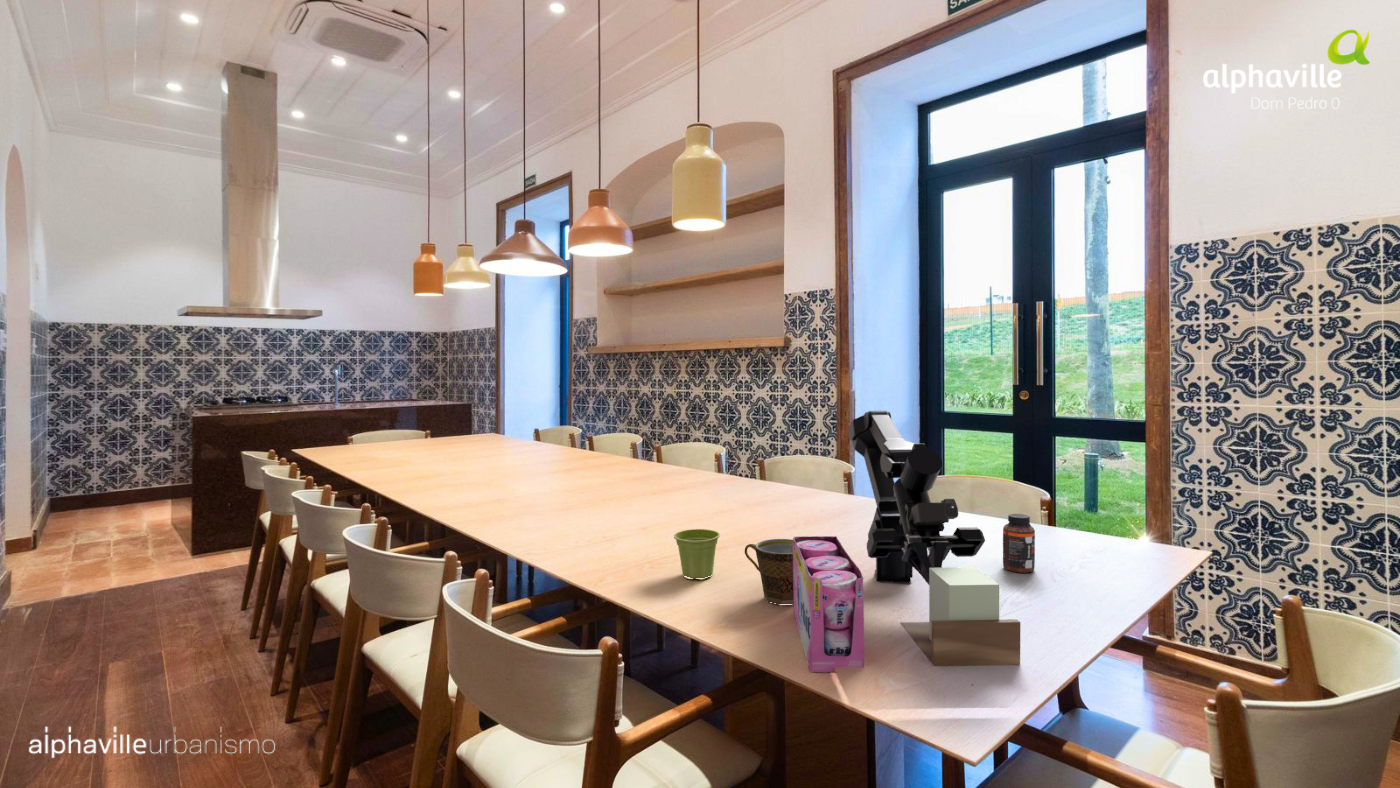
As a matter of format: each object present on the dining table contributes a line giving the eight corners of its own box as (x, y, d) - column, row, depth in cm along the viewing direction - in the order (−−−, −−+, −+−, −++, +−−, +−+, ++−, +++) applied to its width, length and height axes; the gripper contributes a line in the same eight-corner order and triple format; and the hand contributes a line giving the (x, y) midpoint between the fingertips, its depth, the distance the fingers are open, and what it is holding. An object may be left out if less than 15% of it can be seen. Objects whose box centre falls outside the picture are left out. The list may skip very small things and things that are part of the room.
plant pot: (692, 587, 127) (691, 543, 127) (665, 575, 135) (665, 533, 134) (729, 577, 133) (729, 535, 132) (702, 566, 140) (701, 526, 140)
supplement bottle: (1038, 574, 131) (1039, 519, 131) (1007, 573, 132) (1007, 518, 132) (1029, 565, 137) (1030, 512, 137) (999, 564, 138) (999, 511, 138)
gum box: (868, 678, 89) (868, 580, 88) (810, 678, 89) (810, 581, 89) (837, 612, 113) (837, 535, 112) (792, 612, 113) (791, 535, 113)
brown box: (900, 627, 106) (900, 586, 106) (973, 626, 106) (973, 585, 106) (934, 671, 91) (934, 623, 90) (1020, 670, 91) (1020, 622, 90)
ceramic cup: (819, 596, 121) (819, 543, 120) (795, 613, 112) (795, 556, 112) (758, 584, 128) (757, 534, 128) (731, 599, 120) (731, 546, 119)
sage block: (929, 638, 100) (929, 567, 99) (974, 637, 100) (975, 567, 99) (949, 662, 92) (949, 585, 91) (999, 661, 92) (999, 584, 91)
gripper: (871, 482, 110) (889, 567, 100) (981, 480, 110) (1011, 565, 100) (859, 516, 118) (875, 598, 108) (961, 515, 118) (987, 596, 108)
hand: (936, 589), depth 106 cm, fingers closed
